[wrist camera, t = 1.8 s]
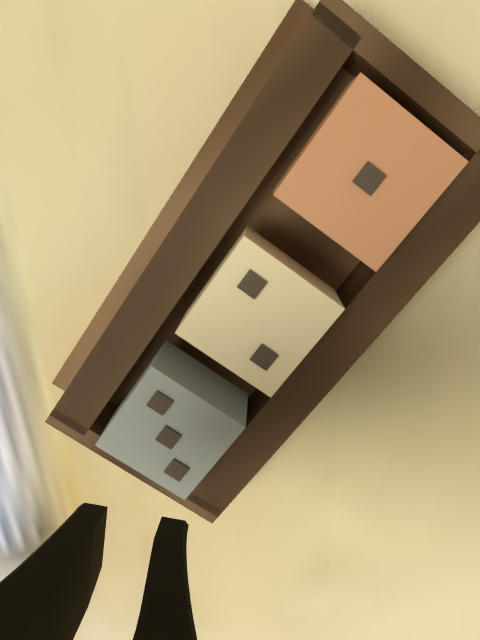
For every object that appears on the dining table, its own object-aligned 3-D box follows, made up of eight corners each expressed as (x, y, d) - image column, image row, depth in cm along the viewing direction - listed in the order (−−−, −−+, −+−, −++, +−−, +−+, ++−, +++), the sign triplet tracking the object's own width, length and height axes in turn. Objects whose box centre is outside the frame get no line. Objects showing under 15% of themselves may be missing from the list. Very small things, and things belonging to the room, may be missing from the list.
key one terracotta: (437, 162, 15) (470, 161, 13) (360, 257, 17) (376, 272, 14) (345, 87, 15) (361, 71, 12) (272, 190, 16) (273, 195, 14)
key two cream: (333, 288, 17) (345, 309, 15) (270, 367, 18) (270, 399, 16) (247, 225, 17) (243, 236, 14) (186, 310, 18) (174, 334, 15)
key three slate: (248, 394, 19) (245, 429, 16) (194, 460, 20) (184, 501, 17) (166, 339, 18) (150, 367, 16) (115, 411, 19) (93, 447, 17)
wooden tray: (505, 176, 17) (553, 179, 15) (233, 487, 23) (229, 533, 20) (296, 2, 16) (303, -33, 13) (57, 377, 21) (25, 410, 18)
